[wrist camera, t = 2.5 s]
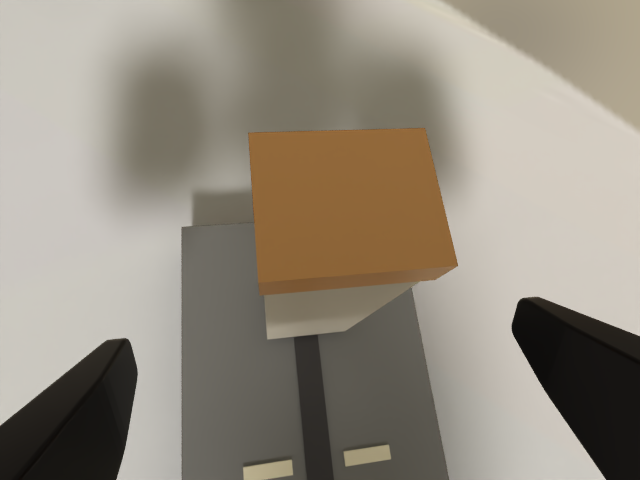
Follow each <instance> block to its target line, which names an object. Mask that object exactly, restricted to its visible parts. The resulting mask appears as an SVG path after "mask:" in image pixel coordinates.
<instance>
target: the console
mask: <svg viewBox="0 0 640 480" xmlns="http://www.w3.org/2000/svg"><path fill="white" fill-rule="evenodd" d="M182 480H449V477H448V472H447V466H446V461H445V456H444V451H443V446H442V441H441V436H440V431H439V426H438V421H437V416H436V410H435V405H434V400H433V395H432V390H431V385H430V380H429V375H428V370H427V365H426V359H425V354H424V349H423V344H422V339H421V334H420V329H419V324H418V319H417V314H416V309H415V303H414V298H413V293H412V288H409V289H408V290H406V291H405V292H403V293H402V294H400V295H399V296H397V297H396V298H394V299H393V300H391V301H390V302H388V303H387V304H385V305H384V306H382V307H381V308H379V309H378V310H376V311H375V312H373V313H372V314H370V315H369V316H367V317H366V318H364V319H363V320H361V321H360V322H358V323H357V324H355V325H354V326H352V327H351V328H349V329H348V330H346V331H343V332H333V333H324V334H315V335H305V336H296V337H287V338H277V339H268V340H267V329H266V315H265V301H264V295H262V296H260V294H259V285H258V272H257V257H256V242H255V227H254V223H239V224H222V225H206V226H190V227H182Z"/></svg>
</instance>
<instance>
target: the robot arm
mask: <svg viewBox="0 0 640 480" xmlns="http://www.w3.org/2000/svg"><path fill="white" fill-rule="evenodd" d="M512 333H513V335H514V337H515V339H516V341H517V343H518V344H519V346H520V348H521V350H522V352H523V353H524V355H525V357H526V359H527V360H528V362H529V364H530V366H531V368H532V369H533V371H534V373H535V375H536V376H537V378H538V380H539V382H540V383H541V385H542V387H543V388H544V390H545V392H546V393H547V395H548V396H549V398H550V399H551V401H552V402H553V404H554V405H555V406H556V408H557V409H558V411H559V412H560V414H561V415H562V417H563V418H564V419H565V421H566V422H567V424H568V425H569V427H570V428H571V430H572V431H573V432H574V434H575V435H576V437H577V438H578V440H579V441H580V443H581V444H582V445H583V447H584V448H585V450H586V451H587V453H588V454H589V456H590V457H591V458H592V460H593V461H594V463H595V464H596V466H597V467H598V469H599V470H600V471H601V473H602V474H603V476H604V477H605V479H606V480H640V336H638V335H635V334H632V333H630V332H627V331H625V330H622V329H620V328H617V327H614V326H612V325H609V324H607V323H604V322H602V321H599V320H596V319H594V318H591V317H589V316H586V315H584V314H581V313H578V312H576V311H573V310H571V309H568V308H566V307H563V306H560V305H558V304H555V303H553V302H550V301H548V300H545V299H542V298H540V297H528V298H522V299H520V300H519V302H518V304H517V308H516V311H515V315H514V318H513V322H512ZM137 375H138V373H137V366H136V362H135V358H134V354H133V350H132V347H131V343H130V341H129V340H128V339H126V338H122V339H112V340H107V341H105V342H104V343H102V344H101V345H100V346H99V347H97V348H96V349H95V350H94V351H92V352H91V353H90V354H89V355H87V356H86V357H85V358H84V359H82V360H81V361H80V362H79V363H77V364H76V365H75V366H74V367H73V368H71V369H70V370H69V371H68V372H66V373H65V374H64V375H63V376H61V377H60V378H59V379H58V380H56V381H55V382H54V383H53V384H51V385H50V386H49V387H48V388H46V389H45V390H44V391H43V392H41V393H40V394H39V395H38V396H37V397H35V398H34V399H33V400H32V401H30V402H29V403H28V404H27V405H25V406H24V407H23V408H22V409H20V410H19V411H18V412H17V413H15V414H14V415H13V416H12V417H10V418H9V419H8V420H7V421H5V422H4V423H3V424H2V425H1V426H0V480H116V479H117V475H118V472H119V469H120V465H121V462H122V458H123V454H124V450H125V446H126V441H127V435H128V430H129V424H130V418H131V412H132V406H133V401H134V395H135V389H136V383H137Z"/></svg>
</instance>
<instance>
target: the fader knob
mask: <svg viewBox="0 0 640 480" xmlns="http://www.w3.org/2000/svg"><path fill="white" fill-rule="evenodd" d="M248 136H249V151H250V166H251V181H252V196H253V211H254V227H255V242H256V257H257V272H258V285H259V294H260V296H262V295H264V301H265V315H266V329H267V340H268V339H277V338H287V337H296V336H305V335H315V334H324V333H333V332H343V331H346V330H348V329H349V328H351V327H352V326H354V325H355V324H357V323H358V322H360V321H361V320H363V319H364V318H366V317H367V316H369V315H370V314H372V313H373V312H375V311H376V310H378V309H379V308H381V307H382V306H384V305H385V304H387V303H388V302H390V301H391V300H393V299H394V298H396V297H397V296H399V295H400V294H402V293H403V292H405V291H406V290H408V289H409V288H411V287H413V286H414V285H416V284H417V283H419V282H420V281H429V280H436V279H437V278H439V277H441V276H442V275H444V274H446V273H447V272H449V271H450V270H452V269H454V268H455V267H457V266H458V263H457V259H456V255H455V251H454V247H453V242H452V238H451V234H450V230H449V226H448V222H447V217H446V213H445V209H444V205H443V201H442V197H441V193H440V188H439V184H438V180H437V176H436V172H435V168H434V163H433V159H432V155H431V151H430V147H429V143H428V139H427V134H426V130H425V128H408V129H370V130H332V131H293V132H255V133H248Z"/></svg>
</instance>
